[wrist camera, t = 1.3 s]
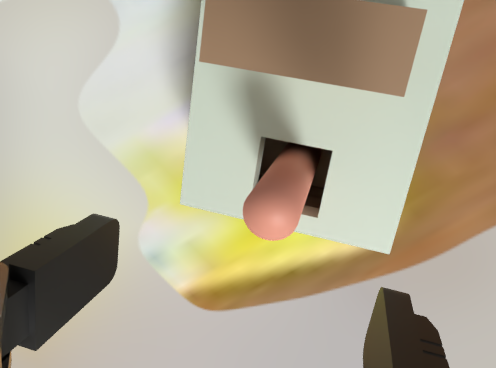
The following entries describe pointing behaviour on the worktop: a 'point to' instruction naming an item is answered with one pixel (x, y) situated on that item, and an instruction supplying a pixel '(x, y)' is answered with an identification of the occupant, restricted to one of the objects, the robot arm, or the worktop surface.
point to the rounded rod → (282, 193)
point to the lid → (317, 103)
